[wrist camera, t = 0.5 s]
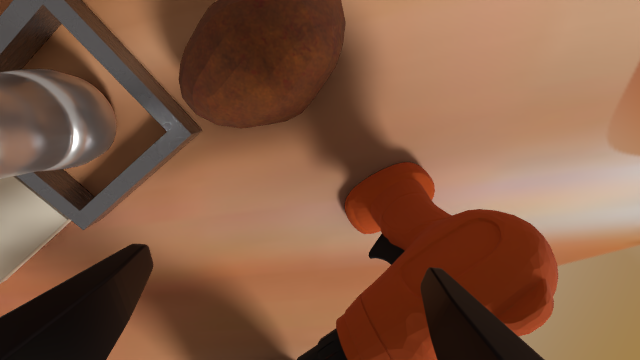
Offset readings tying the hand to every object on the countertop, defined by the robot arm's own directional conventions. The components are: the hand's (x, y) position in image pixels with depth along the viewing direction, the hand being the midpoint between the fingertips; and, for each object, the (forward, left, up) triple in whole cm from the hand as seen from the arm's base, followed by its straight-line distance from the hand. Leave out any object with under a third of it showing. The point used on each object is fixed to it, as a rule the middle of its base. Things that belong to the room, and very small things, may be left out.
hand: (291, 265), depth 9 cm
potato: (+6, +4, -14) cm, 16 cm away
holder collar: (-2, +17, -14) cm, 22 cm away
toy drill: (-5, -5, -14) cm, 16 cm away
